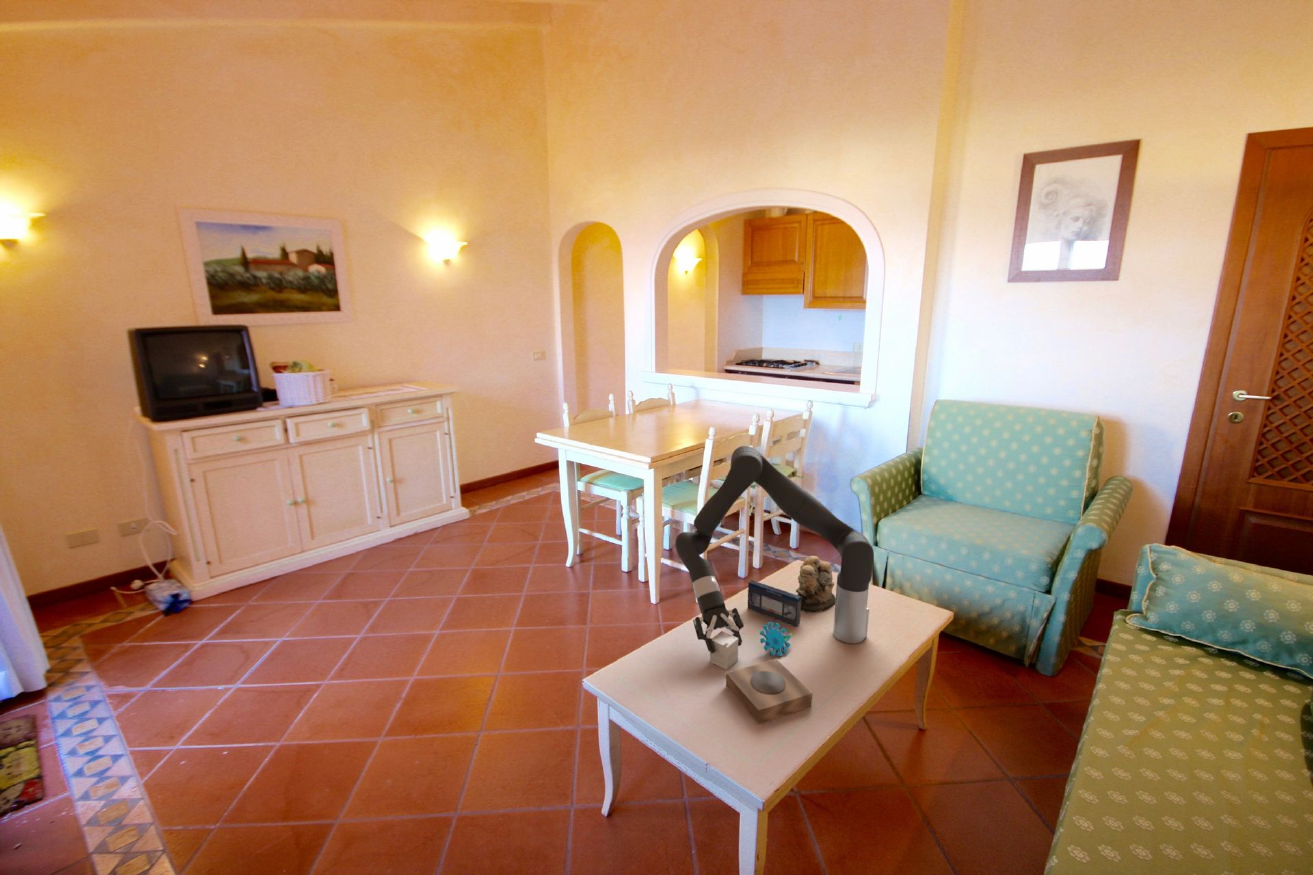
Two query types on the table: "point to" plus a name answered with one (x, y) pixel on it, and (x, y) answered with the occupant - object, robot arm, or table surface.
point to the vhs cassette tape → (774, 603)
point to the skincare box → (724, 650)
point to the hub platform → (768, 690)
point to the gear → (775, 639)
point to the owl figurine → (815, 585)
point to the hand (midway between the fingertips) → (726, 649)
